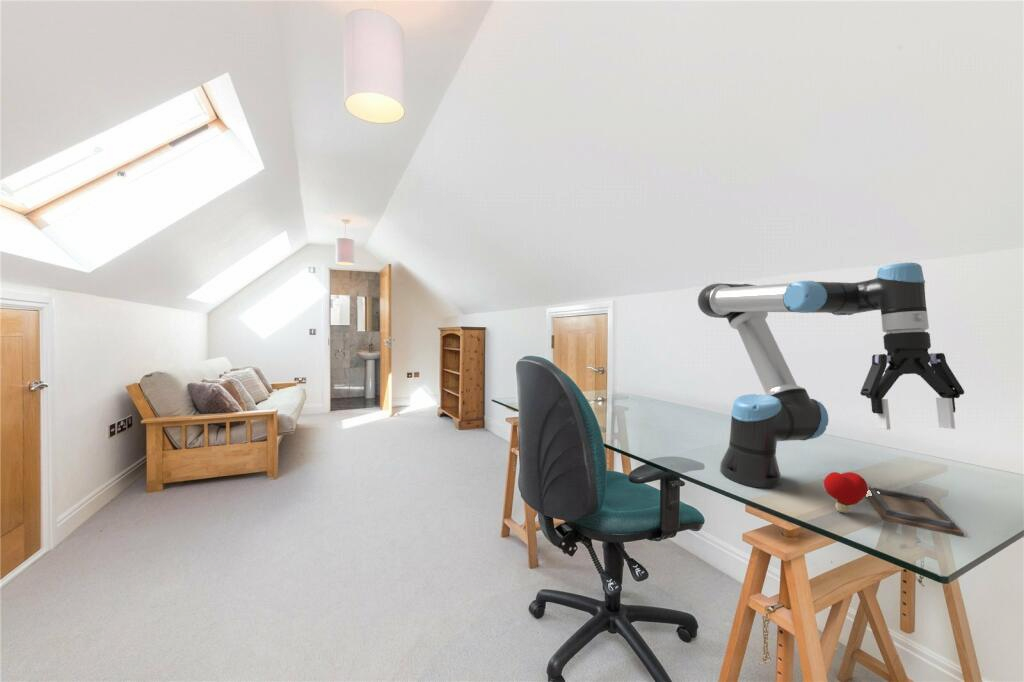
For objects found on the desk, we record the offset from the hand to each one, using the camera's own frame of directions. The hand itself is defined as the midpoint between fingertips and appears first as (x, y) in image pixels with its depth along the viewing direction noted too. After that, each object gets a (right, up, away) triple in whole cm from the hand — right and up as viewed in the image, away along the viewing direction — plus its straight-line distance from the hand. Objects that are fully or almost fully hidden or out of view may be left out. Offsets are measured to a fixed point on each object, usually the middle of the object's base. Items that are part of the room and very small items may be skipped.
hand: (915, 428), depth 90 cm
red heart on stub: (-8, -23, +10) cm, 26 cm away
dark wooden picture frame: (+9, -23, +11) cm, 27 cm away
